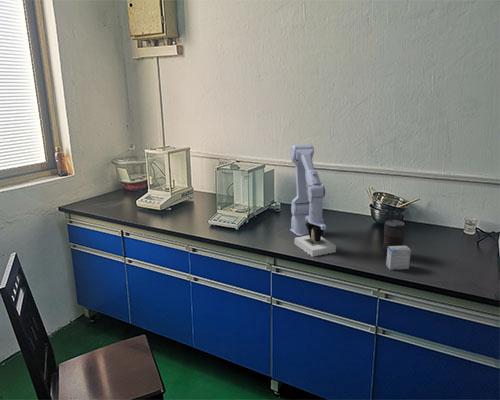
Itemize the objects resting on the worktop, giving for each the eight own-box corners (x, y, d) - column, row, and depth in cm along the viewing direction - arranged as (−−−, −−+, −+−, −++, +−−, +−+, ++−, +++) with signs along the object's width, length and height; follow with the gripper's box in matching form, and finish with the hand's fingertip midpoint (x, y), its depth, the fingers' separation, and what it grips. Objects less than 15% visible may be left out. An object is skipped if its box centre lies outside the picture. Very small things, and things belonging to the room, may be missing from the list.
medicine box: (404, 264, 165) (406, 245, 163) (409, 269, 161) (411, 249, 158) (385, 265, 165) (387, 245, 162) (389, 270, 161) (391, 250, 158)
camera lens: (378, 253, 176) (380, 221, 172) (393, 250, 179) (396, 218, 175) (390, 260, 169) (393, 227, 165) (405, 257, 172) (409, 224, 167)
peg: (309, 243, 184) (309, 228, 182) (316, 241, 185) (317, 227, 183) (314, 246, 180) (315, 231, 178) (321, 244, 182) (322, 230, 180)
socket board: (294, 243, 188) (294, 237, 187) (316, 239, 192) (316, 233, 191) (312, 256, 174) (312, 249, 173) (335, 252, 178) (336, 245, 177)
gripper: (332, 214, 173) (331, 243, 177) (314, 205, 186) (314, 232, 190) (318, 217, 171) (317, 246, 174) (301, 207, 183) (300, 235, 187)
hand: (314, 239), depth 182 cm, fingers closed on peg, 4 cm apart
